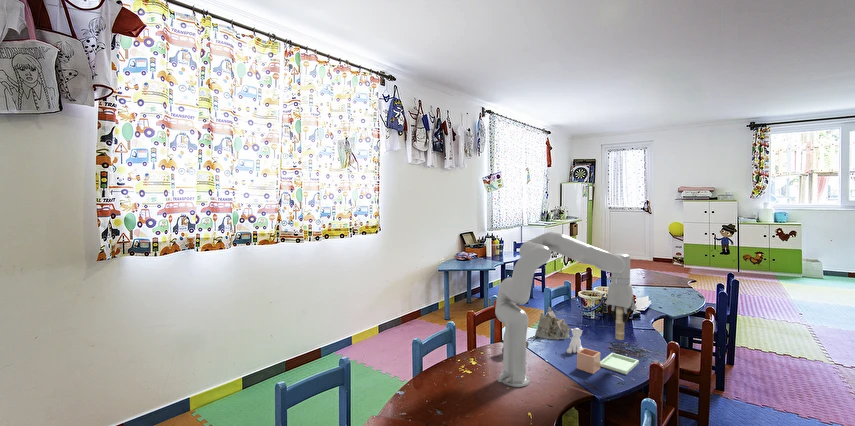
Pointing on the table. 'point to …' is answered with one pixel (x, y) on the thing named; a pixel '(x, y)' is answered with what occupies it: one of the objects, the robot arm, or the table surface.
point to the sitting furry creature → (575, 341)
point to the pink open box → (588, 360)
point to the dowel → (619, 323)
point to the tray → (619, 363)
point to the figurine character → (526, 344)
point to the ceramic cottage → (552, 327)
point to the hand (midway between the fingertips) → (620, 320)
